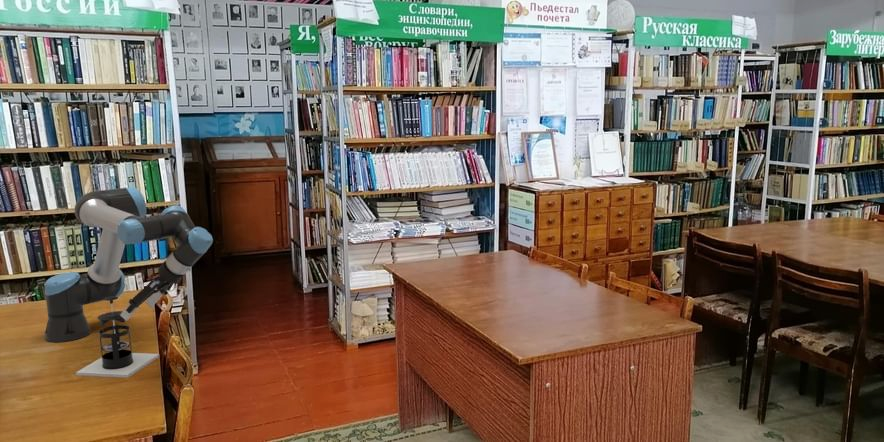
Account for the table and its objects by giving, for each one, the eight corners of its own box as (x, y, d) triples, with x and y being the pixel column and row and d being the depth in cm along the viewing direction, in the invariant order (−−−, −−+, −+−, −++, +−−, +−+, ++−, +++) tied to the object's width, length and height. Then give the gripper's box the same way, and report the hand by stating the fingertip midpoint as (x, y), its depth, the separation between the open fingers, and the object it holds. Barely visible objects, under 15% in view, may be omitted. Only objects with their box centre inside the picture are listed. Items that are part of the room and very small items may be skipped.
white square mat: (111, 354, 230) (111, 351, 229) (159, 356, 227) (158, 353, 227) (76, 375, 212) (75, 372, 212) (127, 377, 209) (127, 374, 209)
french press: (133, 367, 215) (126, 299, 211) (101, 372, 212) (93, 303, 208) (133, 355, 226) (127, 290, 222) (103, 359, 222) (96, 294, 218)
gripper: (162, 286, 198) (121, 331, 203) (203, 266, 222) (165, 307, 227) (144, 268, 198) (103, 314, 202) (187, 250, 222) (150, 292, 227)
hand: (136, 311), depth 215 cm, fingers open, 13 cm apart
